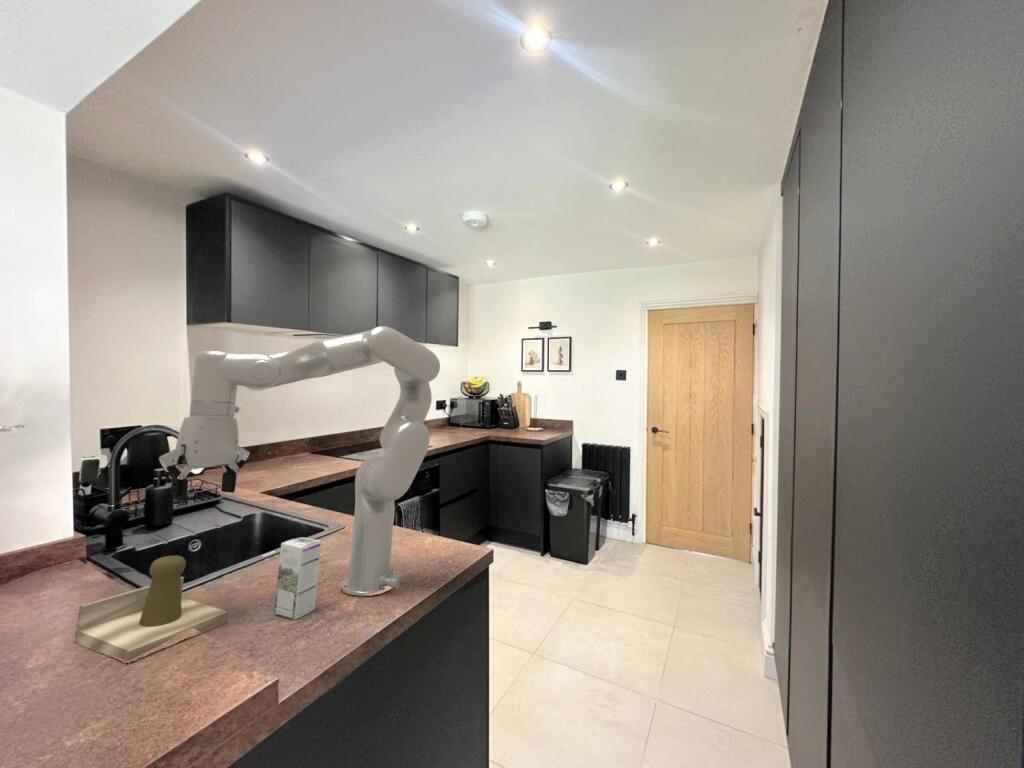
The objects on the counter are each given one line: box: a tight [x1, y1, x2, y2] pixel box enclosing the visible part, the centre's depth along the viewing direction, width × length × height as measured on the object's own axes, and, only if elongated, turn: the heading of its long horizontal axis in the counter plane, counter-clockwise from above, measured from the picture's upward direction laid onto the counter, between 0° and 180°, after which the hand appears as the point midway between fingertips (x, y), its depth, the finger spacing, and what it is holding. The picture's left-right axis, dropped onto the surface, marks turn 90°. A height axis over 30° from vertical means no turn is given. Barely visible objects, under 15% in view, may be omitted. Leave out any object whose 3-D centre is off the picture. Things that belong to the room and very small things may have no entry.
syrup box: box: [273, 536, 322, 621], centre depth 87 cm, size 6×6×14 cm
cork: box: [139, 555, 187, 627], centre depth 77 cm, size 6×6×11 cm
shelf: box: [73, 576, 229, 661], centre depth 76 cm, size 15×16×6 cm
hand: (204, 495), depth 84 cm, fingers open, 9 cm apart
